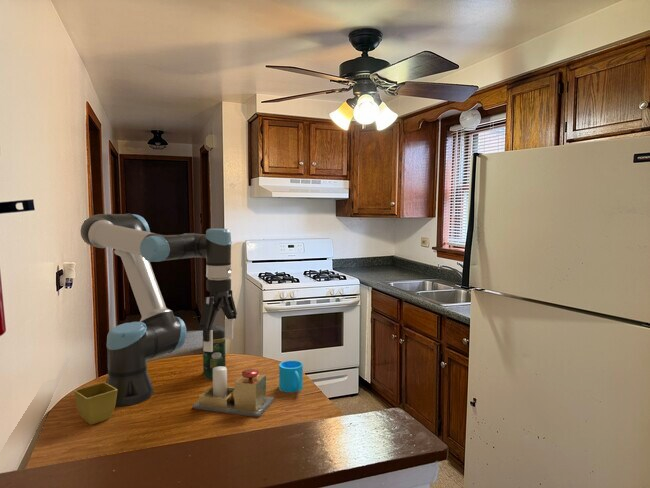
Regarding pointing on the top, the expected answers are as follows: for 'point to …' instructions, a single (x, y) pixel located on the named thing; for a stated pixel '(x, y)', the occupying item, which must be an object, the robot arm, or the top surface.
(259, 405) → the red push button box
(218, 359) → the coffee jar
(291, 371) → the mug
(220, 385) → the white rounded cylinder
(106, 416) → the flower pot
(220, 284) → the robot arm
